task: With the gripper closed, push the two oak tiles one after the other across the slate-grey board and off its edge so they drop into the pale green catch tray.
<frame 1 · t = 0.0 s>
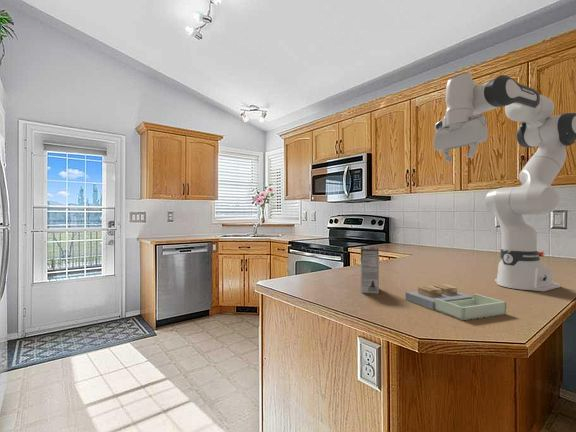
hand: (459, 159, 115), 48 cm above the countertop, fingers open, 8 cm apart
catch tray: (469, 312, 94), on the countertop
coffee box: (369, 290, 120), on the countertop
tile b: (429, 294, 105), point 2 cm above the countertop, touching board
tile a: (445, 292, 107), point 2 cm above the countertop, touching board
board: (438, 302, 105), on the countertop
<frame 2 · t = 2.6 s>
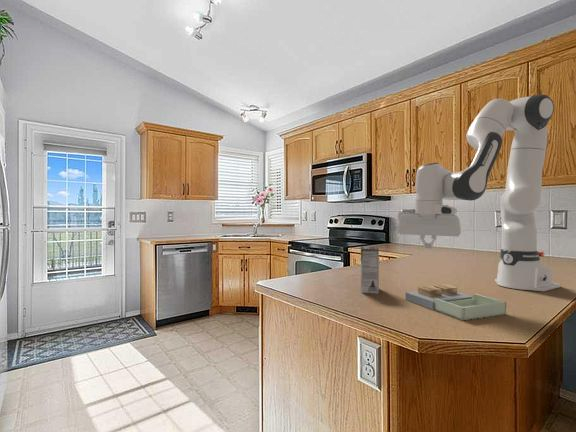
hand: (428, 248, 114), 16 cm above the countertop, fingers closed
nothing on the countertop moved.
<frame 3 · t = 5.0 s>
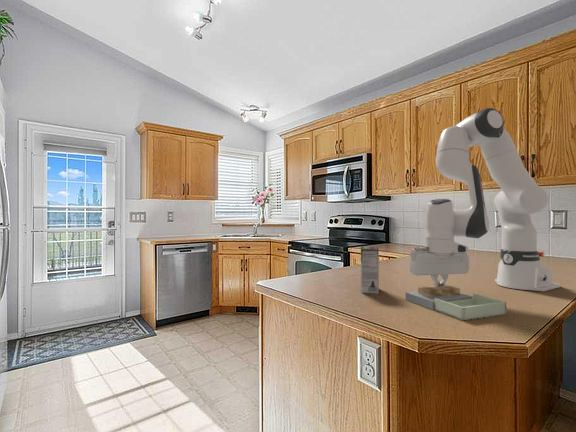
hand: (439, 287, 109), 4 cm above the countertop, fingers closed
tile a: (447, 293, 106), point 3 cm above the countertop, touching board
everything else where it was.
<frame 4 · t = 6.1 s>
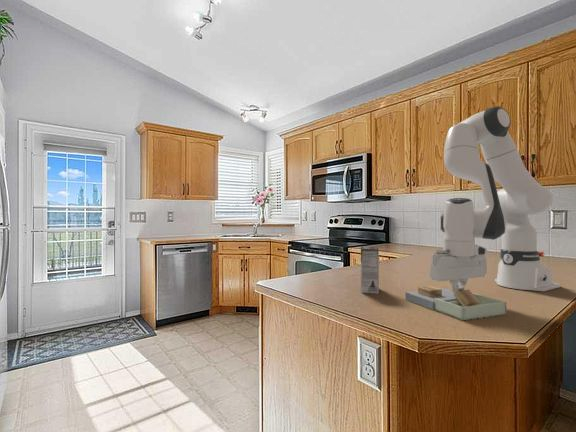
hand: (458, 292, 102), 4 cm above the countertop, fingers closed
tile a: (465, 300, 99), point 2 cm above the countertop, tilted 35°, touching catch tray, gripper
everything else where it was.
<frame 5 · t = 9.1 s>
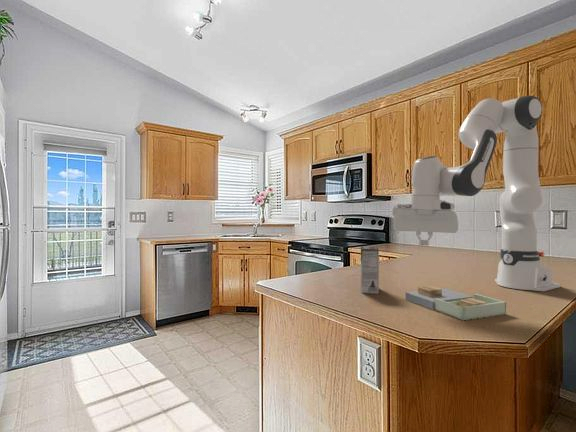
hand: (423, 245, 109), 18 cm above the countertop, fingers closed
tile a: (472, 307, 97), resting on catch tray
everything else where it was.
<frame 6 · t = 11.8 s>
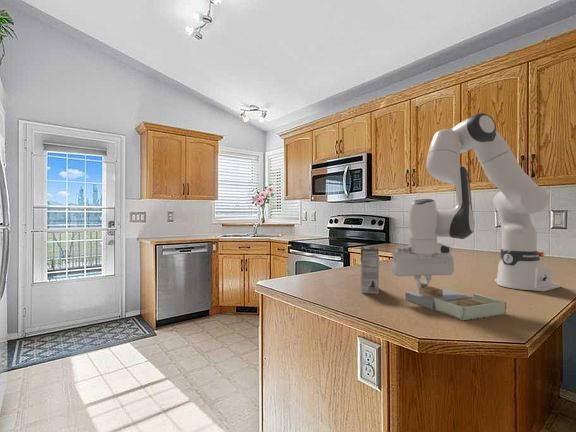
hand: (422, 288, 108), 4 cm above the countertop, fingers closed
tile b: (430, 294, 104), point 2 cm above the countertop, touching board, gripper
everything else where it was.
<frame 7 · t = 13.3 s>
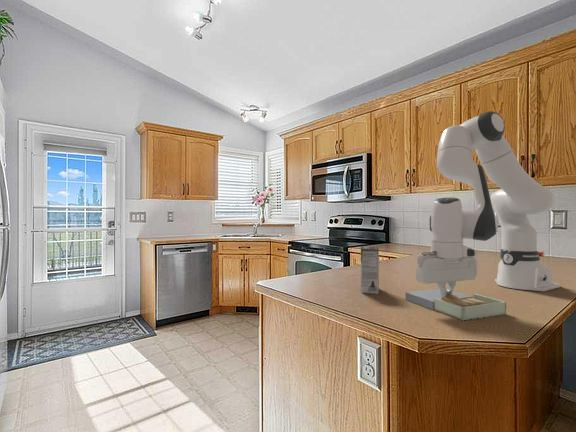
hand: (446, 296, 98), 4 cm above the countertop, fingers closed, pressing on tile b
tile b: (453, 306, 96), point 1 cm above the countertop, tilted 19°, touching gripper
everything else where it was.
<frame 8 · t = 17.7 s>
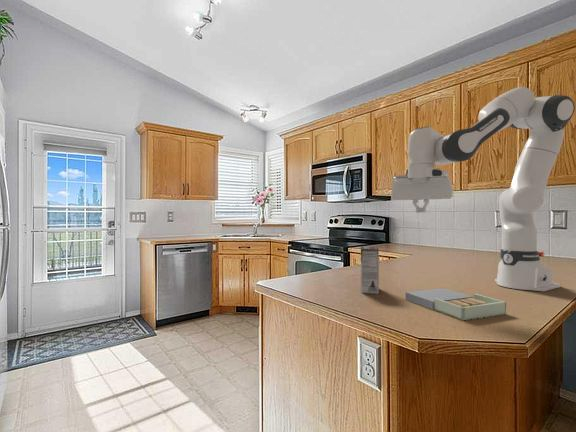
hand: (420, 212, 114), 29 cm above the countertop, fingers closed
tile b: (455, 309, 95), resting on catch tray
everything else where it was.
at the end: tile a inside the target area on the catch tray (3.6 cm from its centre), point 0.5 cm above the catch tray's base; tile b inside the target area on the catch tray (3.8 cm from its centre), point 0.5 cm above the catch tray's base; tile b touching catch tray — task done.
